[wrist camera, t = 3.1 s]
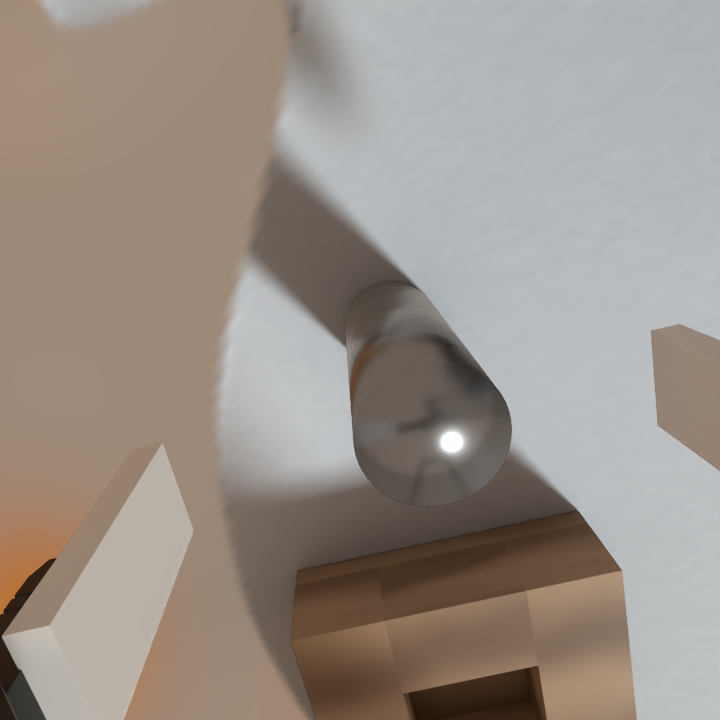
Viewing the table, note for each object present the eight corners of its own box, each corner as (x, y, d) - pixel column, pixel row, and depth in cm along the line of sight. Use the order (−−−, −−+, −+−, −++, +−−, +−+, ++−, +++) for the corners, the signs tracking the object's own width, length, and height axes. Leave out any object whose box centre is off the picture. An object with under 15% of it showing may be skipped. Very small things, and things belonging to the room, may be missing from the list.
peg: (335, 293, 25) (337, 381, 14) (428, 272, 25) (499, 345, 14) (356, 380, 26) (372, 520, 15) (445, 360, 26) (521, 488, 15)
